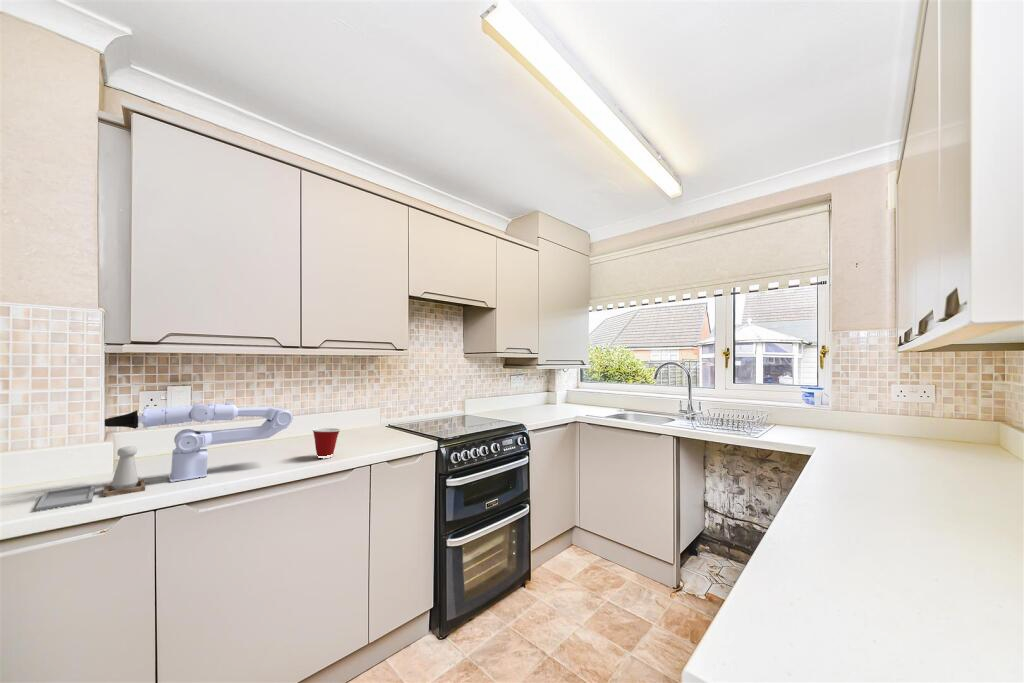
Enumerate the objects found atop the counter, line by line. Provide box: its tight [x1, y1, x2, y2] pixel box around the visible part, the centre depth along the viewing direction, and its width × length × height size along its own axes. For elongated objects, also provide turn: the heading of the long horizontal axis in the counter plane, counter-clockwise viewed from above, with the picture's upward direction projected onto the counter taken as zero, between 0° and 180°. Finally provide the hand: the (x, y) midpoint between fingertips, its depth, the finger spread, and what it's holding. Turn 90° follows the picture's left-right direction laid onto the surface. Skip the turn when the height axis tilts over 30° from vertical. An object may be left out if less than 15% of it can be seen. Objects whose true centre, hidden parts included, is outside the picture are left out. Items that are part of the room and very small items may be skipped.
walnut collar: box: [102, 479, 146, 498], centre depth 119 cm, size 9×9×1 cm
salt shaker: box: [110, 445, 139, 491], centre depth 119 cm, size 6×6×13 cm
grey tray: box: [35, 484, 96, 512], centre depth 111 cm, size 10×16×1 cm, turn 45°
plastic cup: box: [311, 427, 341, 456], centre depth 163 cm, size 11×11×12 cm
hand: (105, 422), depth 119 cm, fingers open, 7 cm apart
